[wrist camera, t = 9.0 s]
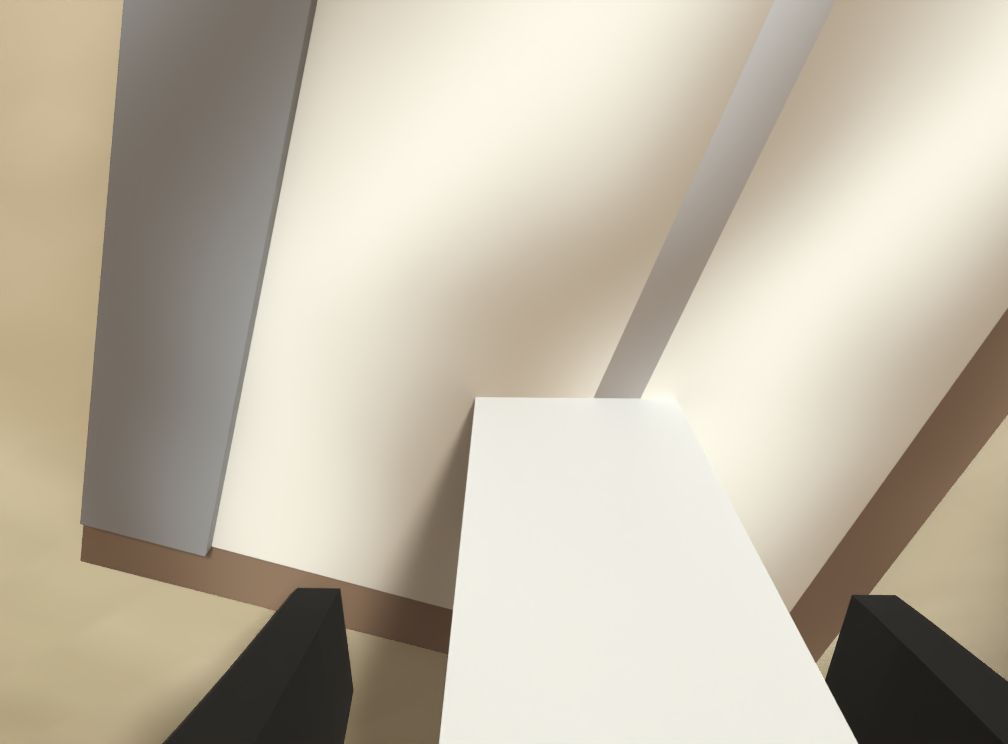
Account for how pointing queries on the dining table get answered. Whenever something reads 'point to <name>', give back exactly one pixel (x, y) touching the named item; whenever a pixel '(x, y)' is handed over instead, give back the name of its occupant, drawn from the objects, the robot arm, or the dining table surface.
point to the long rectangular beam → (616, 591)
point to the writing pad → (540, 275)
